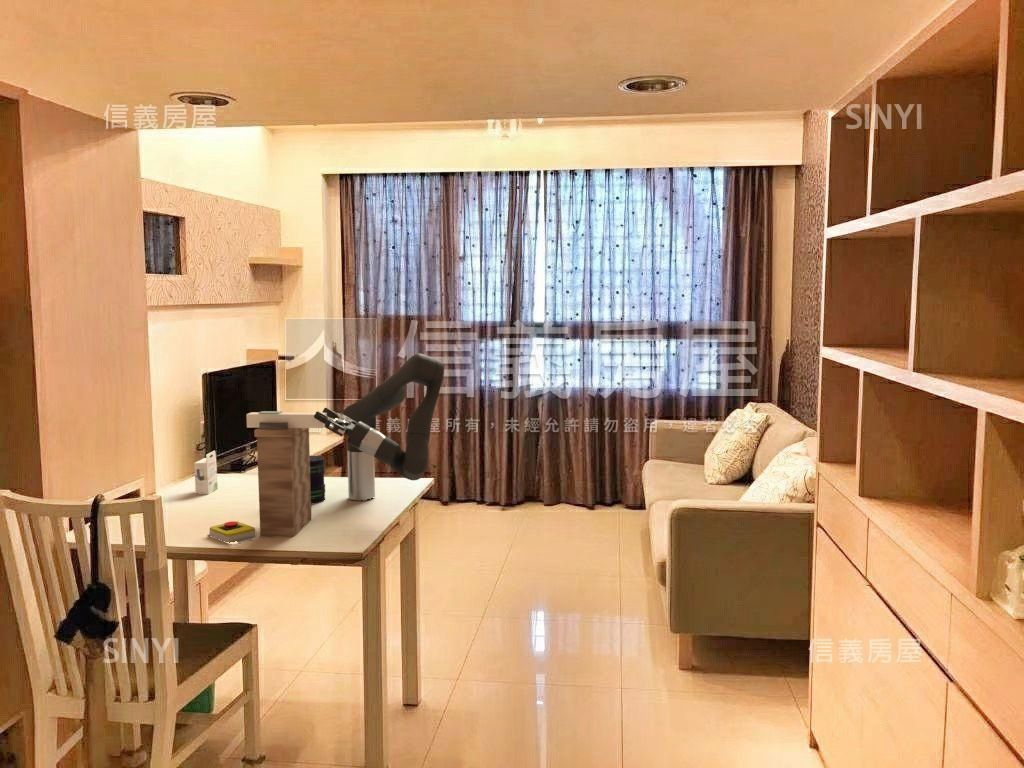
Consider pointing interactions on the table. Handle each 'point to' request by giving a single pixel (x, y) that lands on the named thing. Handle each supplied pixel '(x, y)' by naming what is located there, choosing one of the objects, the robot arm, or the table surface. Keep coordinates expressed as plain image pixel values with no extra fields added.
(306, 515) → the tall stand
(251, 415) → the bar
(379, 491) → the table surface
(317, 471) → the dark blue cylinder
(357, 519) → the table surface
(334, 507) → the table surface
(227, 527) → the emergency button
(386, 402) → the robot arm
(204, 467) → the ink box
